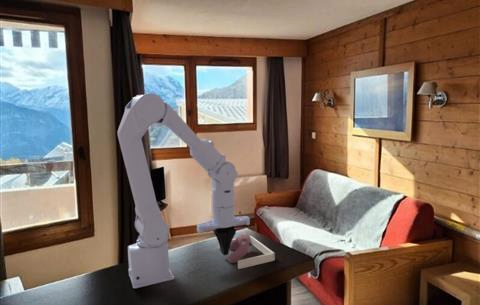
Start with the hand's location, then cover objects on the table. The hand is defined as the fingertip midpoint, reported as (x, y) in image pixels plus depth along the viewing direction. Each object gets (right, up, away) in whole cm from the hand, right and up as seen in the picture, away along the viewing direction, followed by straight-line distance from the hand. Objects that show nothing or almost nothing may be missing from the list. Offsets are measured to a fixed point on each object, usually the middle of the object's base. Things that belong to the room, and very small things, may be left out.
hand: (224, 253), depth 92 cm
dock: (+5, -1, +3) cm, 6 cm away
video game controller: (+4, -1, +2) cm, 5 cm away
